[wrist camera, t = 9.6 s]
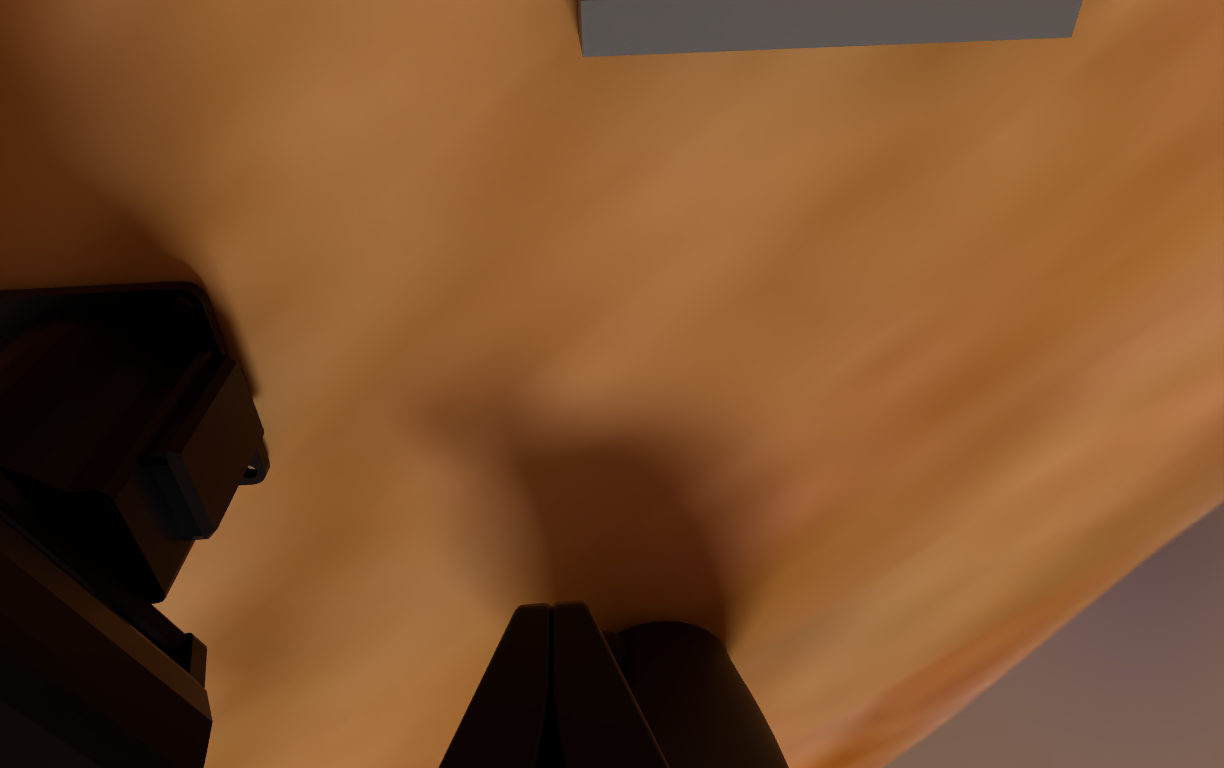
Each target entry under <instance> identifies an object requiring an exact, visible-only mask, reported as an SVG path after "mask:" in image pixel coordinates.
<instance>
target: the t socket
mask: <svg viewBox="0 0 1224 768" xmlns="http://www.w3.org/2000/svg"><path fill="white" fill-rule="evenodd" d="M577 1H578V24H579V40H580V45H581V50H582V55H583V57H592V56H617V55H642V54H667V53H692V52H717V51H742V50H767V49H792V48H817V47H842V46H867V45H892V44H917V43H942V42H967V41H992V40H1017V39H1042V38H1067V37H1071V36H1072V33H1073V30H1074V26H1075V23H1076V20H1077V16H1078V13H1079V10H1080V7H1081V3H1082V0H577Z"/></svg>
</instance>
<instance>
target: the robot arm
mask: <svg viewBox="0 0 1224 768" xmlns="http://www.w3.org/2000/svg"><path fill="white" fill-rule="evenodd" d="M178 297H181V298H185V299H187V300H188V301H190V302H191V304H192V305H193V308H190V307H186V306H184V305H183V304H181V303H180V301H179V300H178ZM263 435H264V429H263V427H262V424H261V421H260V418H259V416H258V413H257V410H256V407H255V405H254V402H253V399H252V397H251V394H250V391H249V388H248V386H247V383H246V380H245V377H244V375H243V372H242V369H241V366H240V364H239V362H238V361H237V360H236V359H235V358H234V357H233V356H231V355H230V354H229V351H228V349H227V346H226V343H225V340H224V338H223V335H222V332H221V330H220V327H219V324H218V322H217V319H216V316H215V314H214V311H213V308H212V305H211V303H210V300H209V298H208V296H207V294H206V293H205V291H204V290H203V289H201V288H200V287H199V286H198V285H195V284H193V283H191V282H184V281H176V282H157V283H138V284H119V285H100V286H81V287H62V288H43V289H24V290H5V291H0V768H203V767H204V764H205V758H206V753H207V748H208V743H209V738H210V732H211V727H212V716H211V711H210V706H209V701H208V695H207V691H206V690H205V689H204V688H205V672H206V656H207V647H206V646H205V645H204V644H203V643H202V642H201V641H200V640H199V639H198V638H196V637H195V636H194V635H193V634H192V633H184V632H183V631H181V630H180V629H179V628H178V627H177V626H176V625H175V624H173V623H172V622H171V621H170V620H169V619H168V618H167V617H165V616H164V615H163V614H162V613H161V612H160V611H159V610H157V609H156V608H155V607H154V606H153V605H152V604H155V603H159V602H162V601H163V600H164V599H165V598H166V596H167V594H168V592H169V590H170V588H171V586H172V584H173V583H174V581H175V579H176V577H177V575H178V573H179V571H180V569H181V567H182V565H183V563H184V561H185V559H186V557H187V555H188V553H189V551H190V549H191V548H192V546H193V544H194V542H195V540H200V539H209V538H210V537H211V536H212V534H213V533H214V532H215V531H216V530H217V528H218V526H219V524H220V522H221V520H222V518H223V516H224V514H225V512H226V510H227V508H228V506H229V504H230V502H231V500H232V498H233V496H234V494H235V492H236V490H237V488H238V486H239V485H253V484H257V483H260V482H262V481H263V480H264V479H265V477H266V474H267V472H268V470H269V468H270V462H269V459H268V456H267V454H266V451H265V448H264V446H263V443H262V440H261V439H262V437H263ZM248 465H249V466H252V467H254V468H255V469H249V468H248ZM439 768H669V766H668V764H667V762H666V760H665V758H664V756H663V754H662V752H661V750H660V748H659V746H658V744H657V742H656V740H655V738H654V736H653V734H652V732H651V730H650V728H649V726H648V724H647V722H646V720H645V718H644V716H643V714H642V712H641V710H640V708H639V706H638V704H637V702H636V700H635V698H634V696H633V694H632V692H631V690H630V688H629V686H628V684H627V682H626V680H625V678H624V676H623V674H622V672H621V670H620V668H619V666H618V664H617V662H616V660H615V658H614V656H613V654H612V652H611V650H610V648H609V646H608V644H607V642H606V640H605V638H604V636H603V634H602V632H601V630H600V628H599V626H598V624H597V622H596V620H595V618H594V616H593V614H592V612H591V610H590V608H589V607H588V605H587V604H586V603H585V602H584V601H566V602H557V603H555V604H554V605H553V607H552V608H551V606H550V605H549V604H547V603H539V604H525V605H520V606H519V607H518V608H517V609H516V610H515V612H514V613H513V615H512V617H511V620H510V622H509V624H508V626H507V628H506V630H505V632H504V634H503V636H502V638H501V640H500V642H499V644H498V646H497V648H496V650H495V653H494V655H493V657H492V659H491V661H490V663H489V665H488V667H487V669H486V671H485V673H484V675H483V677H482V679H481V681H480V683H479V685H478V688H477V690H476V692H475V694H474V696H473V698H472V700H471V702H470V704H469V706H468V708H467V710H466V712H465V714H464V716H463V718H462V720H461V723H460V725H459V727H458V729H457V731H456V733H455V735H454V737H453V739H452V741H451V743H450V745H449V747H448V749H447V751H446V753H445V756H444V758H443V760H442V762H441V764H440V766H439Z"/></svg>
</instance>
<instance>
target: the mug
mask: <svg viewBox="0 0 1224 768" xmlns="http://www.w3.org/2000/svg"><path fill="white" fill-rule="evenodd" d="M602 634H603V636H604V638H605V640H606V642H607V644H608V646H609V648H610V650H611V652H612V654H613V656H614V658H615V660H616V662H617V664H618V666H619V668H620V670H621V672H622V674H623V676H624V678H625V680H626V682H627V684H628V686H629V688H630V690H631V692H632V694H633V696H634V698H635V700H636V702H637V704H638V706H639V708H640V710H641V712H642V714H643V716H644V718H645V720H646V722H647V724H648V726H649V728H650V730H651V732H652V734H653V736H654V738H655V740H656V742H657V744H658V746H659V748H660V750H661V752H662V754H663V756H664V758H665V760H666V762H667V764H668V766H669V768H789V767H788V765H787V763H786V761H785V758H784V756H783V754H782V752H781V750H780V747H779V745H778V743H777V741H776V739H775V736H774V735H773V733H772V731H771V729H770V727H769V725H768V723H767V721H766V719H765V717H764V715H763V713H762V712H761V710H760V708H759V706H758V705H757V703H756V701H755V699H754V698H753V696H752V694H751V692H750V691H749V689H748V688H747V686H746V684H745V683H744V681H743V679H742V678H741V676H740V675H739V673H738V671H737V670H736V668H735V666H734V665H733V663H732V661H731V659H730V657H729V655H728V653H727V651H726V649H725V647H724V646H723V644H722V643H721V642H720V640H719V639H718V638H716V637H715V636H714V635H713V634H711V633H710V632H708V631H706V630H704V629H702V628H700V627H697V626H694V625H690V624H685V623H678V622H657V623H648V624H644V625H639V626H635V627H632V628H630V629H627V630H624V631H622V632H620V633H618V634H615V633H613V632H610V631H603V632H602Z"/></svg>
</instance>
